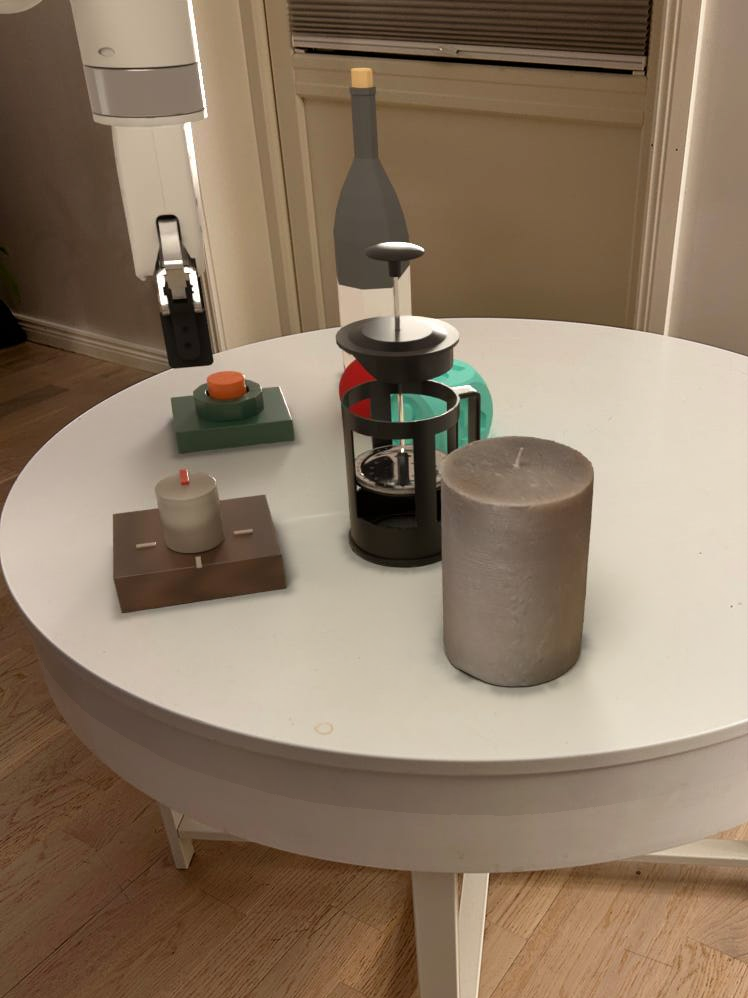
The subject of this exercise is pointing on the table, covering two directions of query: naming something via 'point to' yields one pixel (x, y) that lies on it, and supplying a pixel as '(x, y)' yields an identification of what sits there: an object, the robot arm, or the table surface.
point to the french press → (400, 426)
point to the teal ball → (431, 407)
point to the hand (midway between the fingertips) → (189, 343)
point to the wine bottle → (367, 221)
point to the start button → (226, 385)
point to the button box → (231, 419)
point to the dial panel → (196, 558)
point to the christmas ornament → (352, 378)
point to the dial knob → (190, 512)
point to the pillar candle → (515, 557)
